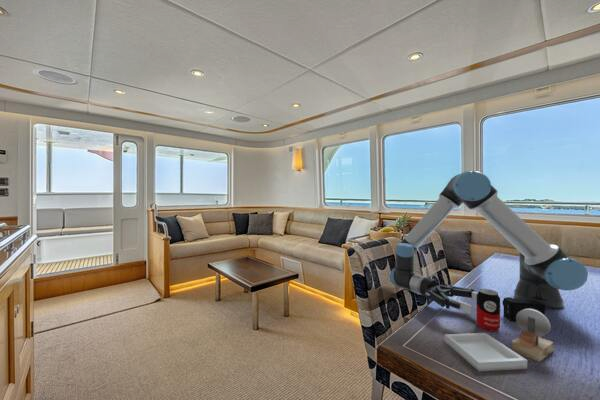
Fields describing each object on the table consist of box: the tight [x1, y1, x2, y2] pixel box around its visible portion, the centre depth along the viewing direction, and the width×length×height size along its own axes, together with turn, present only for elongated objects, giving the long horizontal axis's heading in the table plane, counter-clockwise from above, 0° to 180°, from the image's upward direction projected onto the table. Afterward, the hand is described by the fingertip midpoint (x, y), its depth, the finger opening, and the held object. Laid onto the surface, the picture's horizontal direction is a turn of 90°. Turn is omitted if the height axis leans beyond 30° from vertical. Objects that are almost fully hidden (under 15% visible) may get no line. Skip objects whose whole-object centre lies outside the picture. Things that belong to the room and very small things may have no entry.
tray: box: [444, 332, 528, 372], centre depth 70 cm, size 13×13×2 cm
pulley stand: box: [510, 308, 555, 363], centre depth 71 cm, size 10×7×12 cm
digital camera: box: [502, 296, 546, 323], centre depth 90 cm, size 10×5×7 cm, turn 79°
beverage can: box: [475, 288, 501, 332], centre depth 84 cm, size 6×6×12 cm
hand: (482, 305), depth 85 cm, fingers open, 13 cm apart
